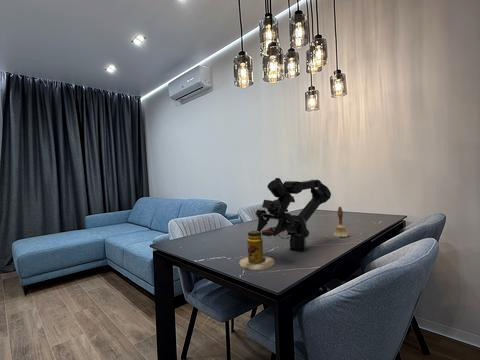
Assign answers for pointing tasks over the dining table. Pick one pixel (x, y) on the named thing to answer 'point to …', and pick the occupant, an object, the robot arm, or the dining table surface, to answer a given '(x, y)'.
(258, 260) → the condiment
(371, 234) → the dining table surface
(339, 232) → the hand bell
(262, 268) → the beige round plate
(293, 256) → the dining table surface
